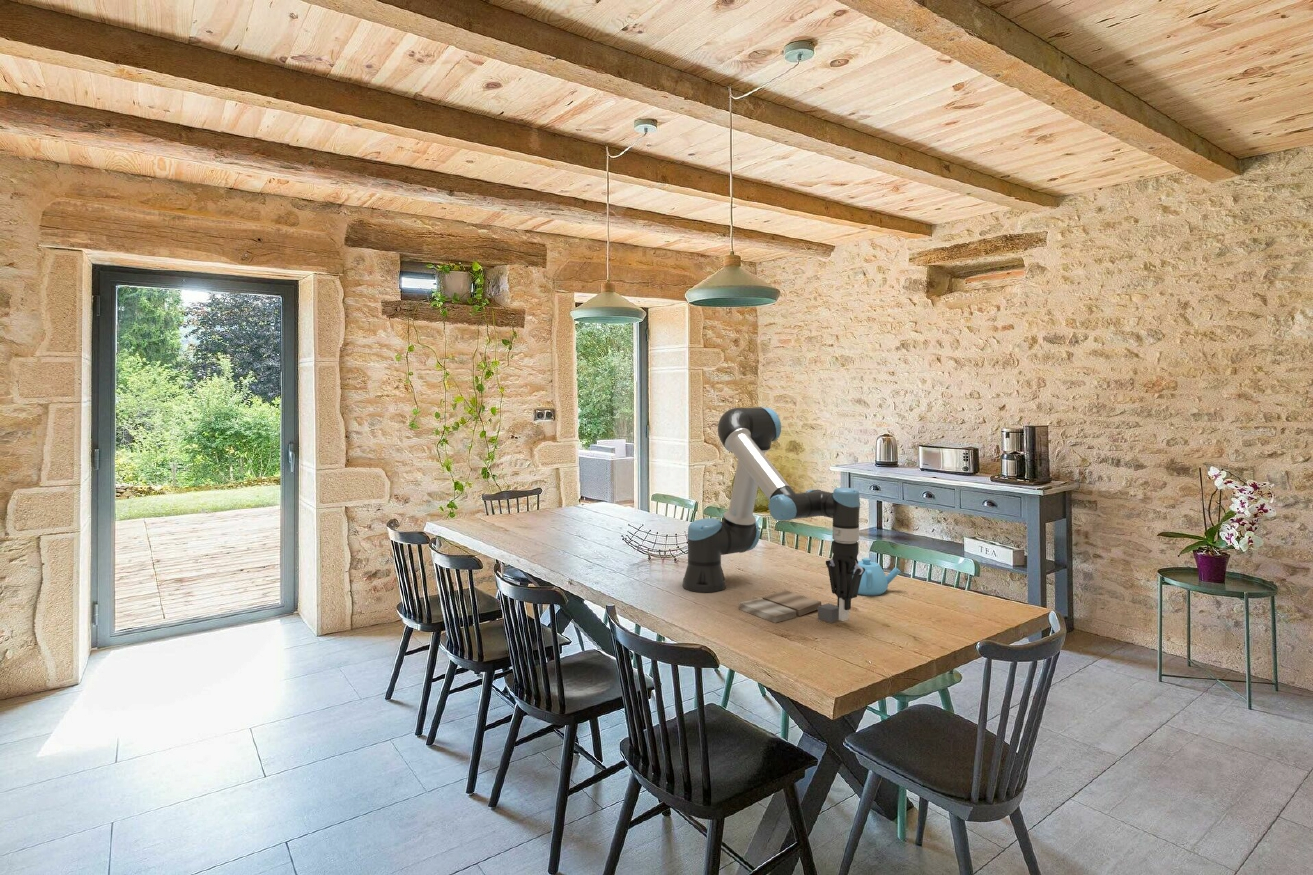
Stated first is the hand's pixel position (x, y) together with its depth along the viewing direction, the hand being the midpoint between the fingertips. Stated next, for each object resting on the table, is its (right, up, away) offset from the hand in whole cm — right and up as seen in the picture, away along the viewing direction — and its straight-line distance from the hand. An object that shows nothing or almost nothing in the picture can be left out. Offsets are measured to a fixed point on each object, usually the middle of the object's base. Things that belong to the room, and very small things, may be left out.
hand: (843, 619), depth 207 cm
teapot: (+17, +1, +35) cm, 39 cm away
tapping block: (-3, -1, +4) cm, 6 cm away
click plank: (-12, 0, +16) cm, 20 cm away
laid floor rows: (-21, -1, +10) cm, 23 cm away
